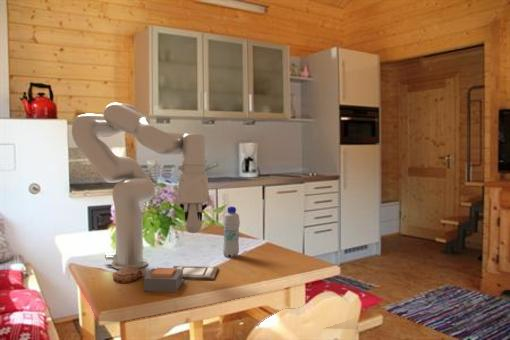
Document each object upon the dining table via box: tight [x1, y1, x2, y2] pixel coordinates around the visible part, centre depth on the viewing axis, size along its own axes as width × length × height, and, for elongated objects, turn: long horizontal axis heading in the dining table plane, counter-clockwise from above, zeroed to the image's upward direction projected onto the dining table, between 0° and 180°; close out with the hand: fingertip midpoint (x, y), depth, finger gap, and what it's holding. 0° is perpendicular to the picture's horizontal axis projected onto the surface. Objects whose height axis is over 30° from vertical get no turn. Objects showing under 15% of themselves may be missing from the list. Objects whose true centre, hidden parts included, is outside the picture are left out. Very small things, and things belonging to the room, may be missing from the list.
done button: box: [152, 267, 176, 277], centre depth 138 cm, size 6×6×3 cm
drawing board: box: [172, 265, 219, 281], centre depth 151 cm, size 16×12×1 cm
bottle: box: [222, 206, 241, 258], centre depth 174 cm, size 7×7×20 cm
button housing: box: [143, 268, 184, 293], centre depth 138 cm, size 10×10×4 cm
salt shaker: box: [184, 203, 203, 234], centre depth 149 cm, size 6×6×13 cm
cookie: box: [112, 267, 144, 284], centre depth 146 cm, size 10×11×3 cm
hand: (193, 222), depth 150 cm, fingers closed on salt shaker, 3 cm apart
